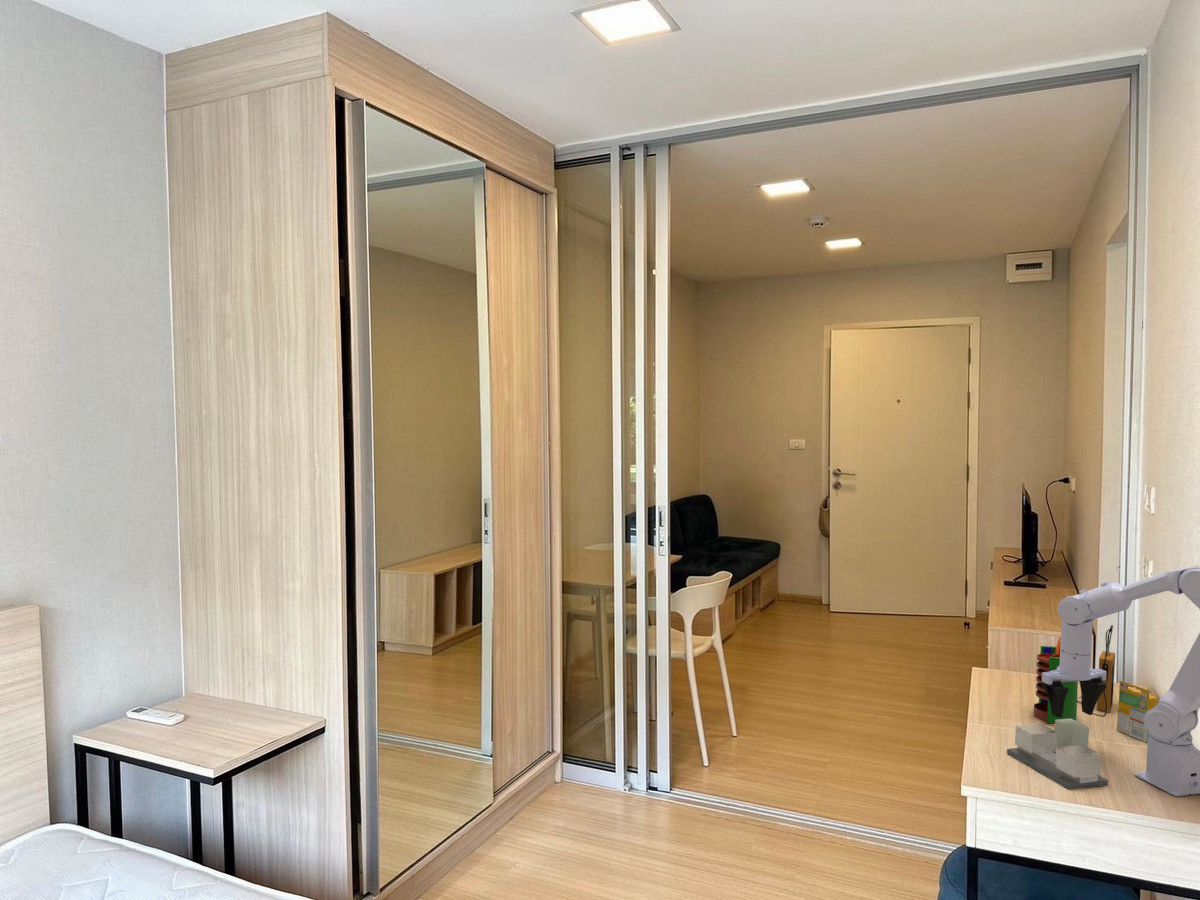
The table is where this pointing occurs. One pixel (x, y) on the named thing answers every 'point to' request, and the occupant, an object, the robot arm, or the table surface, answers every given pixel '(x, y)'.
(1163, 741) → the robot arm
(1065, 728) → the block
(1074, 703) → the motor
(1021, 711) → the table surface
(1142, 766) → the table surface
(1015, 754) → the rail board
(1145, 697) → the crayon box
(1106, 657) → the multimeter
